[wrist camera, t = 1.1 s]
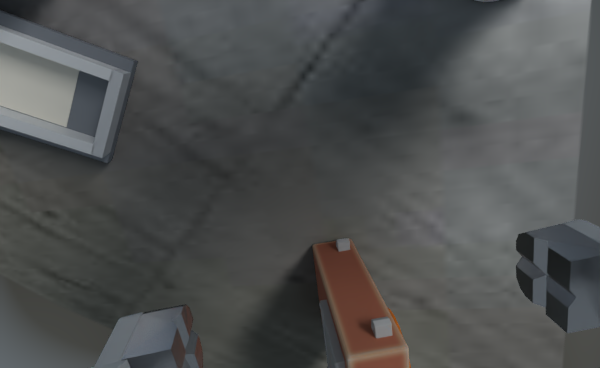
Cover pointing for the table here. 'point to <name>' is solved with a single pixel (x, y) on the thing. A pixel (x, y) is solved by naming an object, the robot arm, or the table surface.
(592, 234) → the robot arm
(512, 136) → the table surface
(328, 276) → the orange box with grille
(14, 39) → the rail board
